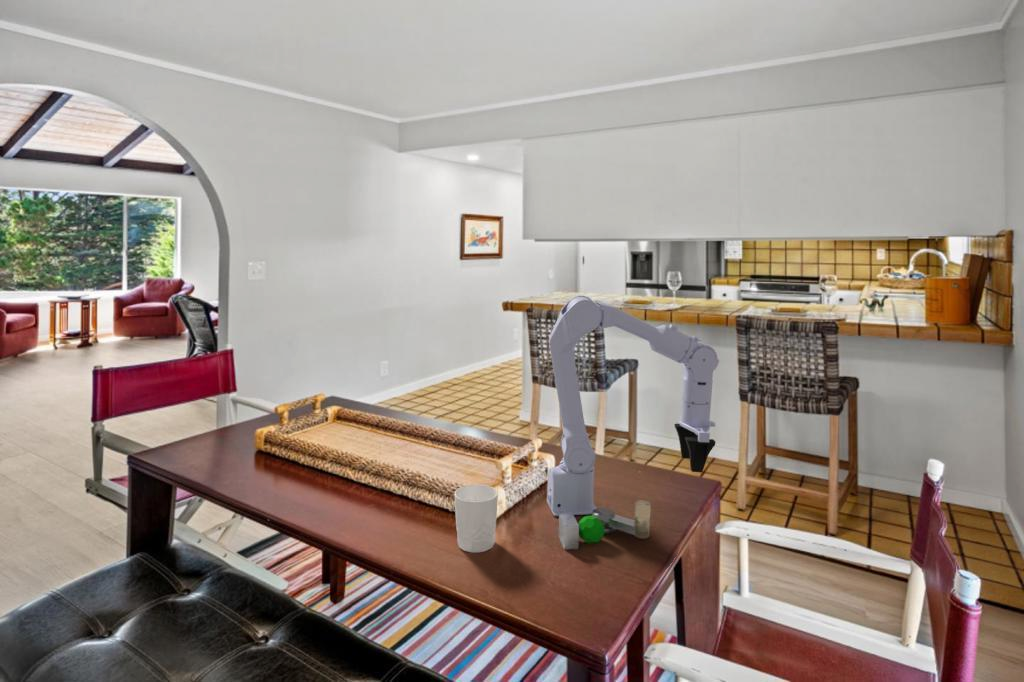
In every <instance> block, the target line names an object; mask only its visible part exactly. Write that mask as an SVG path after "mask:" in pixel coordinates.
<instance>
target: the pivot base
mask: <svg viewBox="0 0 1024 682" xmlns="http://www.w3.org/2000/svg"><path fill="white" fill-rule="evenodd" d="M604 529H605V530H604V535H611V534H613V533H615V531H616V529H615V528H612V527H609V528H604Z"/></svg>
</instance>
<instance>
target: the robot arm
mask: <svg viewBox="0 0 1024 682" xmlns="http://www.w3.org/2000/svg"><path fill="white" fill-rule="evenodd" d="M597 327H600V328H601V329H607V328H611V327H615V328H618V329H620V330H622V331H624V332H627V333H629V334H631V335H633V336H636V337H638V338H640V339H643V340H645V341H648V343H649V348H650V349H651V351H653V352H655V353H657V354H660V355H662V356H664V357H666V358H668V359H670V360H672V361H674V362H677V363H678V364H683V365H684V366H683V367H684V368H683V369H684V370H683V378H682V393H681V405H680V406H681V407H680V418H679V420H678V422H679V423H675V424H674V428H675V430H676V432H677V433H676V434H677V436H678V440H679V447H680V448H679V449H680V455H681V458H682V459H689V466H690V471H691V472H692V473H703V471H704V469H705V466H706V462H707V459H708V457H709V455H710V454H711V451H712V450H713V448H714V447H715V445H716V440H714V439H711V438H710V436H711V435H710V434H711V432H710V429H711V427H712V428H713V427H714V428H715V427H716V422H715V421H713V420H711V418H710V417H711V407H712V395H713V394H712V393H713V374H714V371H715V370H716V369H717V368H718V366H719V362H720V359H718V355H717V352H716V351H715V349H714V348H713V347H711V346H710V345H709V344H707V343H705V342H702V341H701V339H699V337H697V336H695V335H692V336H689V335H687V334H685V333H683V332H681V331H679V330H678V327H677V326H675V325H673V324H671V323H670V324H669V325H666V324H661V325H659V326H653V325H651V324H650V323H647V322H646V321H643V320H642V319H640V318H638V317H637V316H634V315H632V314H630V313H628V312H626V311H625V310H622V309H620V308H619V307H616V306H614V305H612V304H609V303H606V302H603V301H601V300H596V299H594V301H593V300H592V298H590V297H589V296H586V295H576V296H574V297H572V298H570V299H569V301H568V302H567V303H566V304H564V305H563V307H561V310H560V312H559V315H558V316H557V320H556V322H555V324H554V326H553V328H552V330H551V332H550V335H549V336H548V337H549V338H548V343H549V350H550V356H551V357H550V358H551V361H552V362H551V363H552V368H553V369H552V370H553V375H554V381H555V387H556V393H557V399H558V405H559V407H558V408H559V413H560V419H561V426H562V437H561V439H560V449H561V450H562V454H563V456H562V458H561V461H559V465H557V466H553V467H550V468H548V471H547V495H546V496H547V497H546V502H547V505H548V507H549V508H550V511H551V512H552V515H553V516H554V517H559V514H571V513H573V515H574V516H582V515H583V516H584V515H586V516H588V515H592V511H593V510H594V509H597V508H598V507H597V506H596V505H595V502H594V487H595V486H594V485H595V462H596V454H595V450H594V449H593V447H592V444H591V440H590V437H589V435H588V433H587V429H586V428H587V427H586V424H585V418H584V412H583V404H582V399H581V394H580V393H581V391H580V386H579V379H578V374H577V367H576V362H575V360H576V359H575V354H574V347H575V346H576V345H577V344H578V343H579V341H580V340H581V339H582V338H583V337H584V336H586V335H588V334H590V333H591V332H592V331H594V330H595V329H597Z"/></svg>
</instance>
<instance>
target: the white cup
mask: <svg viewBox="0 0 1024 682" xmlns="http://www.w3.org/2000/svg"><path fill="white" fill-rule="evenodd" d="M498 492H499V491H498V490H497V489H496V488H495V487H492V486H491V485H487V484H481V483H479V484H467V485H464V486H460V487H459V488H456V490H455V491H454V492H453V493H454V513H455V514H454V515H455V526H456V527H455V529H456V533H457V535H456V537H457V545H458V548H459V549H461V550H462V551H465V552H467V553H468V552H469V553H484V552H487V551H489V550H490V549H493V547H494V545H495V542H496V541H495V540H496V529H497V528H496V527H497V517H498V502H499V501H498V500H499V499H498V498H499V493H498Z"/></svg>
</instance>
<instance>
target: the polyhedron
mask: <svg viewBox="0 0 1024 682" xmlns="http://www.w3.org/2000/svg"><path fill="white" fill-rule="evenodd" d="M578 525H579V538H580V539H581V540H583V542H584V541H585V543H587V544H596V543H599V542H600V541H601V540H602V539H603V538H604V536H605V534H604V530H605V529H604V525H603V522H602V521H601V520H599V519H598V518H596V517H595V516H593V515H592V514H591V515H586V516H584V517H582V518H581V519H580V520H579V522H578Z"/></svg>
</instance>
